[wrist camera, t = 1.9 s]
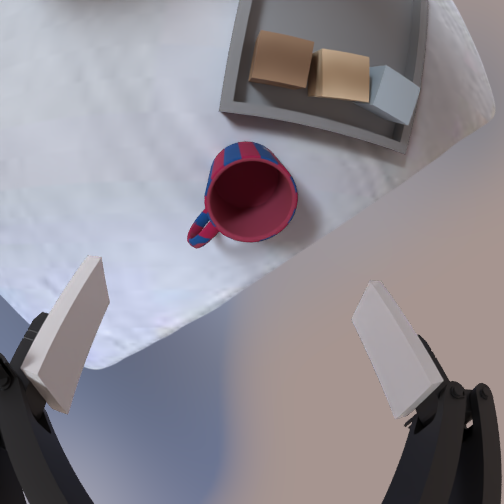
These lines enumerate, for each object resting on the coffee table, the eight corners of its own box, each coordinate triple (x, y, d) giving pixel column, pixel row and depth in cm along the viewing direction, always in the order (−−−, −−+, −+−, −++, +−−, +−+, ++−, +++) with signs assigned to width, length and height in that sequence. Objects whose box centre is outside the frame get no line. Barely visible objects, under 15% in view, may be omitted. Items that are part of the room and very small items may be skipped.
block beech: (307, 55, 19) (322, 48, 15) (349, 61, 19) (369, 57, 15) (307, 96, 21) (322, 96, 17) (348, 100, 21) (368, 102, 17)
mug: (293, 184, 26) (313, 212, 20) (210, 237, 28) (206, 277, 22) (256, 127, 23) (266, 137, 17) (169, 188, 25) (151, 218, 19)
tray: (258, -69, 10) (260, -79, 8) (417, -13, 13) (428, -17, 11) (219, 110, 21) (218, 111, 20) (393, 149, 24) (405, 154, 22)
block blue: (364, 68, 19) (386, 65, 16) (396, 86, 20) (420, 88, 17) (352, 102, 21) (373, 104, 18) (385, 119, 22) (408, 125, 18)
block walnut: (255, 41, 18) (260, 30, 14) (300, 50, 18) (314, 41, 15) (247, 81, 20) (252, 77, 16) (293, 89, 20) (305, 87, 17)
